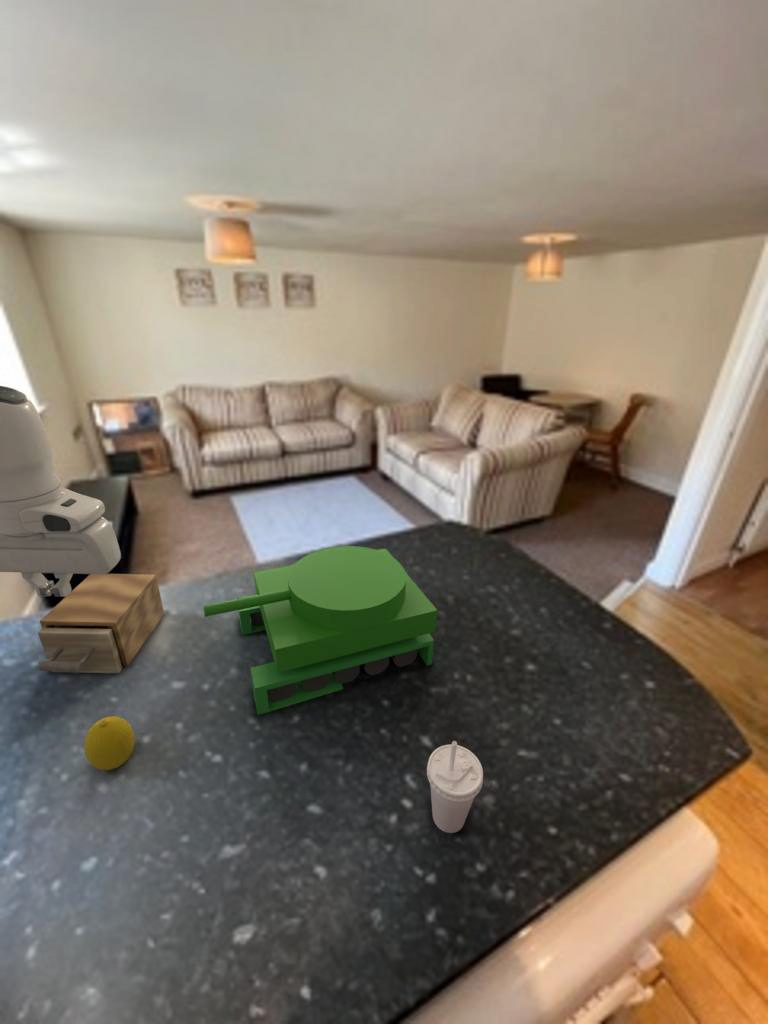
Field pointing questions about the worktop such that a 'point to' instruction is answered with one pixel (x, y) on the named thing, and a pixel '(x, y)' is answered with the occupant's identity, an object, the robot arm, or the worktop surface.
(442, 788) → the smoothie
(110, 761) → the lemon
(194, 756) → the worktop surface
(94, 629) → the drawer
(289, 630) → the tank
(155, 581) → the cabinet
